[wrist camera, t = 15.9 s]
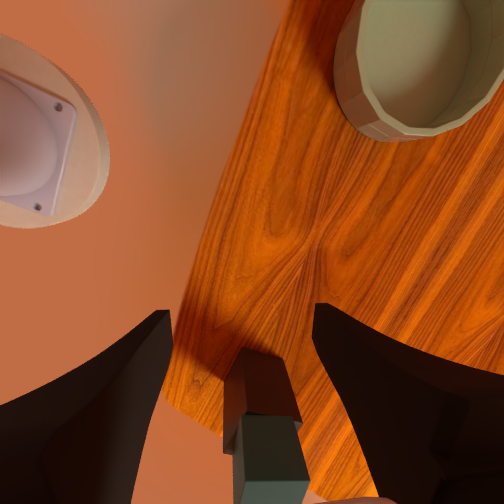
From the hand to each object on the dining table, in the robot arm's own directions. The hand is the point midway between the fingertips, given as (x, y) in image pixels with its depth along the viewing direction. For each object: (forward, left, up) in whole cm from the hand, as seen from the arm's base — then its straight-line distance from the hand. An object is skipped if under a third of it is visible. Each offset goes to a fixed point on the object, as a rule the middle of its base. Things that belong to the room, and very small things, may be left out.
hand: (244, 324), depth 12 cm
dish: (+6, +19, -10) cm, 22 cm away
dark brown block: (+7, -11, -10) cm, 17 cm away
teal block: (+7, -11, -3) cm, 13 cm away
